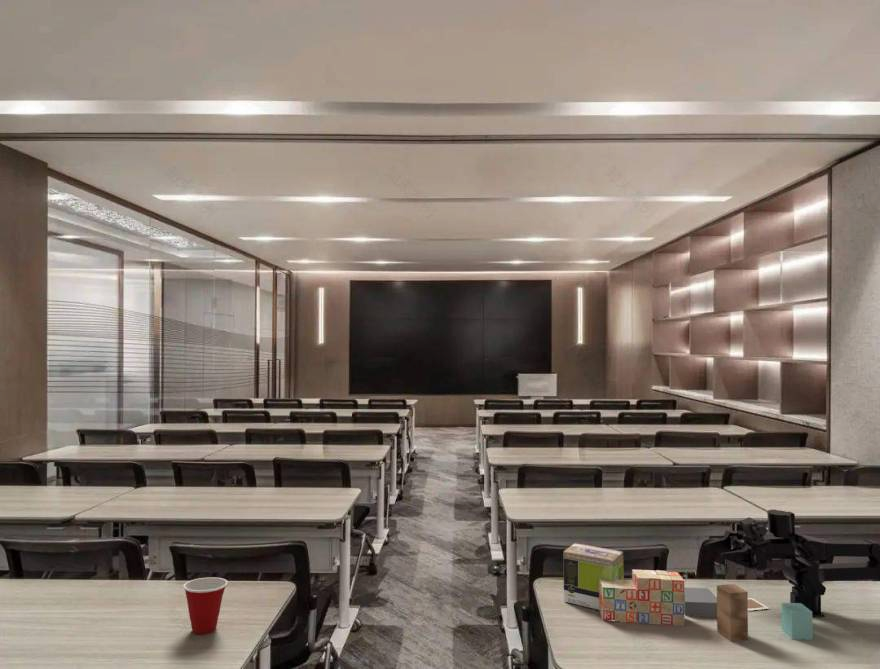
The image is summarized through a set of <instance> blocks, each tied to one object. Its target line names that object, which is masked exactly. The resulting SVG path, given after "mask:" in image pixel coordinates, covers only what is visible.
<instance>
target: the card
mask: <svg viewBox="0 0 880 669" xmlns="http://www.w3.org/2000/svg"><path fill="white" fill-rule="evenodd" d="M762 609H763V610H762ZM764 609H768V610H770V609H771V608H770V607H768V606H767V605H765V604H763V603H761V602H760V601H758V600H756V599H754V598H752V597H748V612H755V611H754V610H758V611H765V610H764Z"/></svg>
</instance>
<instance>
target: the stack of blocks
mask: <svg viewBox="0 0 880 669" xmlns="http://www.w3.org/2000/svg"><path fill="white" fill-rule="evenodd" d="M684 588H685V580H684V579H683V577H682V576H681V574H680V573H679V572H678V571H666V570H659V569H656V570H651V569H631V579H624V580H615V581H614V582H613V581H608V580H603V579H599V610H598V611H600V612H599V614H600V617H601V620H602V619H603V620H615V621H620V622H619V623H627V622H633V624H646V625H648V624H650V625H651V624H653V625H664V626H666V625H667V626H677V627H678V626H681V627H685V614H684V605H685V604H684V603H685V592H684ZM603 620H602V621H603ZM615 621H614V622H615Z"/></svg>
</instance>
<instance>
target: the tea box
mask: <svg viewBox="0 0 880 669" xmlns="http://www.w3.org/2000/svg"><path fill="white" fill-rule="evenodd" d="M562 555H563V558H562V559H563V561H562V562H563V564H562V565H563V601H564V602H565V603H570V604H574V605H576V606H577V605H578V606H581V607H586V608H590V609H593V610H598V611H599V579H603V580H608V581H613V582H614V581H615V580H625V579H624V578H625V575H624V573H625V572H624V568H625V567H624V551H622V550H617V549H610V548H603V547H600V546H599V547H598V546H595V545H594V546H593V545H587V544H583V543H576V542H574V543H573V544H572V545H570V546H569V547H567V548H566V549H565V550H563V553H562Z"/></svg>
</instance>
